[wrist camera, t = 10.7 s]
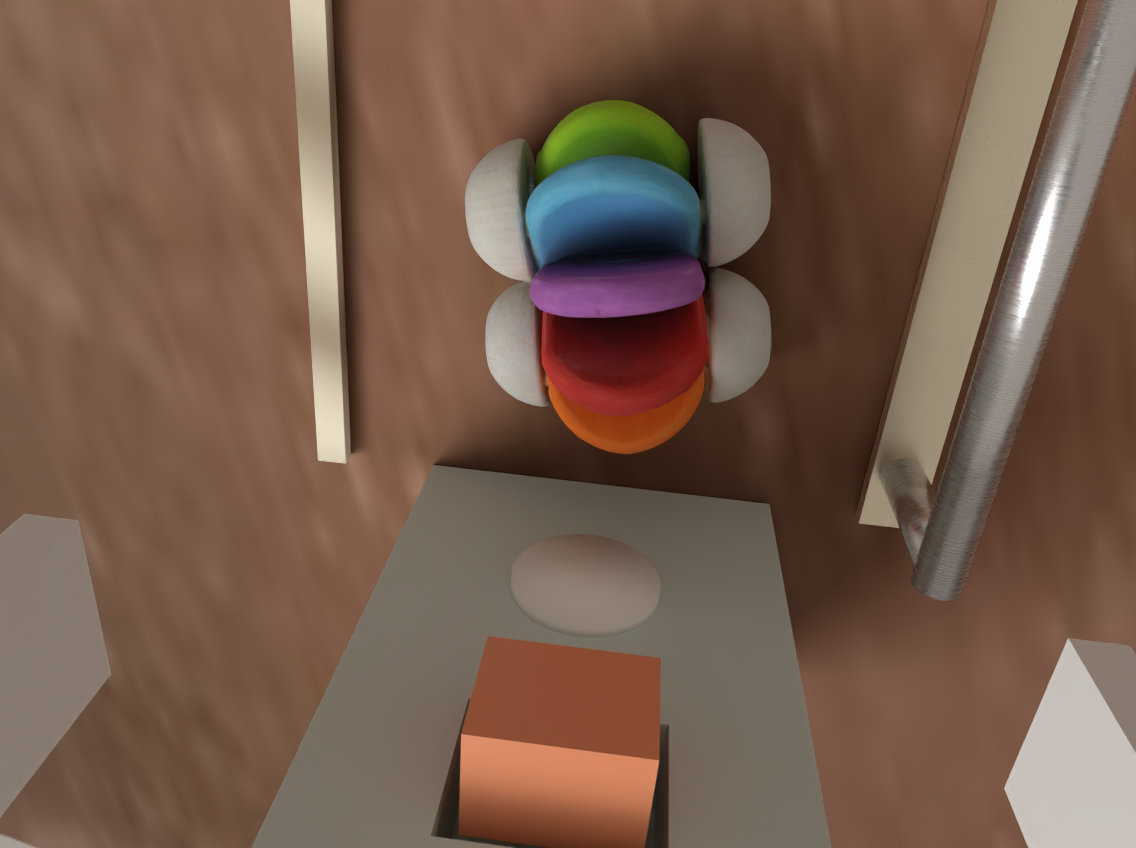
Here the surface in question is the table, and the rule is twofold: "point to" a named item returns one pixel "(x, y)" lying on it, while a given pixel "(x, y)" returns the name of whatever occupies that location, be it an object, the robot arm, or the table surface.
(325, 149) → the cream square stick
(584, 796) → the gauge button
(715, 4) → the table surface
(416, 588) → the cabinet
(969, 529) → the handrail
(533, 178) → the rainbow petal baby toy
